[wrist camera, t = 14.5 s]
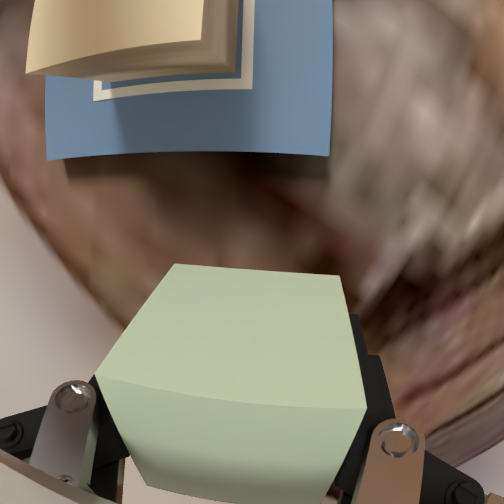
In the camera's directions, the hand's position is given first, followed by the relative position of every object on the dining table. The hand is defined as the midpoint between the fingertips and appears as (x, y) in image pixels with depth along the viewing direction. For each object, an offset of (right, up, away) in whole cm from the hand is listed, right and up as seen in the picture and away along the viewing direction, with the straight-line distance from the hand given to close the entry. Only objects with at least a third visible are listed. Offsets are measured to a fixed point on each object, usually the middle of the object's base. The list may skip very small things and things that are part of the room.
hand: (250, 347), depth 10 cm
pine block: (-3, +12, -1) cm, 12 cm away
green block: (0, 0, +1) cm, 1 cm away
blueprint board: (-3, +12, 0) cm, 13 cm away
